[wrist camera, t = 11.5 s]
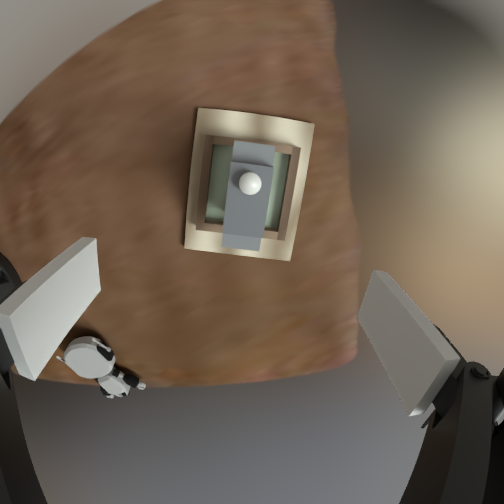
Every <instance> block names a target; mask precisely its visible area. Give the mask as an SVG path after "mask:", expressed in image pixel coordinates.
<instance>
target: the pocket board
mask: <svg viewBox="0 0 504 504" xmlns="http://www.w3.org/2000/svg"><path fill="white" fill-rule="evenodd" d="M314 125H315V124H312V123H307V122H302V121H297V120H291V119H285V118H280V117H273V116H267V115H260V114H253V113H245V112H237V111H228V110H218V109H207V108H198V114H197V121H196V129H195V137H194V145H193V153H192V162H191V172H190V182H189V193H188V204H187V217H186V231H185V247H184V248H185V249H193V250H202V251H210V252H218V253H226V254H235V255H243V256H251V257H259V258H268V259H276V260H285V261H290V258H291V253H292V249H293V244H294V238H295V233H296V228H297V223H298V218H299V213H300V207H301V202H302V196H303V191H304V185H305V180H306V174H307V168H308V162H309V156H310V150H311V144H312V138H313V132H314ZM234 141H243V142H250V143H258V144H265V145H271V146H276V147H275V154H274V160H273V167H274V171H273V178H272V184H271V191H270V197H269V203H268V210H267V216H266V222H265V228H264V235H263V238H261V243H260V250H259V251H251V250H243V249H235V248H227V247H221V245H222V236H223V233H222V231H223V222H224V214H225V205H226V197H227V189H228V181H229V173H230V165H231V161H232V155H233V147H234Z"/></svg>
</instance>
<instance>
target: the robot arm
mask: <svg viewBox="0 0 504 504" xmlns="http://www.w3.org/2000/svg"><path fill="white" fill-rule="evenodd" d="M100 290H101V288H100V279H99V269H98V258H97V243H96V238H88V237H82V238H81V239H79V240H78V241H77V242H75V243H74V244H73V245H71V246H70V247H69V248H67V249H66V250H65V251H63V252H62V253H61V254H60V255H58V256H57V257H56V258H54V259H53V260H52V261H51V262H49V263H48V264H47V265H46V266H44V267H43V268H42V269H41V270H40V271H38V272H37V273H36V274H35V275H34V276H32V277H31V278H30V279H29V280H27V281H25V282H23V283H21V280H20V278H19V276H18V274H17V272H16V271H15V269H14V268H13V266H12V265H11V263H10V262H9V261H8V260H7V259H6V258H5V257H4V256H3V255H2V254H0V504H47V501H46V499H45V496H44V494H43V491H42V489H41V487H40V484H39V481H38V478H37V476H36V473H35V470H34V467H33V464H32V461H31V458H30V454H29V451H28V448H27V444H26V440H25V436H24V433H23V429H22V424H21V420H20V415H19V411H18V405H17V400H16V394H15V388H14V381H13V375H12V372H11V370H10V368H11V366H12V365H13V364H14V363H15V365H16V368H17V370H18V372H19V374H20V375H22V376H24V377H26V378H29V379H31V380H34V381H35V380H36V378H37V377H38V375H39V374H40V372H41V371H42V369H43V368H44V366H45V365H46V363H47V362H48V360H49V359H50V357H51V356H52V355H53V353H54V352H55V350H56V349H57V347H58V346H59V345H60V343H61V342H62V340H63V339H64V338H65V336H66V335H67V333H68V332H69V331H70V329H71V328H72V327H73V325H74V324H75V323H76V321H77V320H78V319H79V317H80V316H81V315H82V313H83V312H84V311H85V309H86V308H87V307H88V306H89V304H90V303H91V302H92V300H93V299H94V298H95V297H96V295H97V294H98V293H99V292H100ZM357 319H358V321H359V323H360V325H361V326H362V328H363V330H364V332H365V333H366V335H367V337H368V339H369V341H370V342H371V344H372V346H373V348H374V350H375V352H376V353H377V355H378V357H379V359H380V361H381V363H382V365H383V367H384V369H385V370H386V372H387V374H388V376H389V378H390V380H391V382H392V384H393V386H394V388H395V390H396V392H397V394H398V396H399V397H400V400H401V402H402V404H403V406H404V408H405V410H406V412H407V414H408V416H413V415H418V414H423V413H424V412H425V411H426V410H427V408H428V407H429V406H430V404H431V403H433V404H434V406H435V410H434V411H433V412H432V414H431V415H430V416H429V417H428V419H427V420H426V421H425V423H424V424H423V425H422V427H421V428H424V427H425V426H426V425H427V424H428V427H427V431H426V434H425V437H424V441H423V444H422V447H421V450H420V453H419V456H418V459H417V462H416V464H415V467H414V470H413V472H412V475H411V477H410V480H409V482H408V485H407V487H406V489H405V492H404V494H403V496H402V498H401V501H400V503H399V504H504V420H503V421H502V423H501V424H500V425H498V423H497V420H498V419H499V418H500V416H501V415H502V414H503V413H504V368H503V370H502V372H501V373H500V375H499V376H491V374H490V372H489V371H488V370H487V369H486V368H485V367H484V366H483V365H481V364H479V363H477V362H468V363H467V362H466V360H465V359H464V358H463V357H462V355H461V354H460V353H459V352H458V350H457V349H456V348H455V347H454V346H453V344H452V343H450V341H449V339H448V338H446V336H445V335H444V333H443V332H442V331H441V330H440V329H439V328H438V327H437V326H435V325H434V324H433V323H432V322H431V321H430V320H429V319H428V318H427V317H426V315H425V314H424V313H423V312H422V311H421V310H420V309H419V308H418V306H417V305H416V304H415V303H414V302H413V301H412V300H411V299H410V297H409V296H408V295H407V294H406V293H405V292H404V291H403V290H402V289H401V287H400V286H399V285H398V284H397V283H396V282H395V281H394V280H393V279H392V278H391V277H390V276H389V274H388V273H386V272H385V271H376V270H373V271H372V274H371V278H370V281H369V284H368V287H367V290H366V293H365V296H364V299H363V302H362V305H361V308H360V310H359V313H358V316H357Z"/></svg>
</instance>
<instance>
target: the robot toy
mask: <svg viewBox="0 0 504 504" xmlns="http://www.w3.org/2000/svg"><path fill="white" fill-rule="evenodd" d="M56 357H57V358H58V359H60V360H61V361H63V362H65V363H66V364H67V365H68V366H69V367H70V368H71V369H72V370H74V371H75V372H76V373H77V374H78V375H79V376H82V377H84V378H95V380H96V381H97V382H98V383H99V384H100V385H101V386H100V388H101V391H102V393H103V395H105V396H107V397H108V398H110V397H111V398H113V397H114V395H117V396H120V397H122V396H127V395H129V392H130V391H129V389H130V386H131V387H133V388H136V386H137V387H138V388H139V389H144V388H145V387H146V384H145V383H144V382H139V378H137V377H135V376H133V375H131V374H124V373H123V372H122V371H120V370H119V369H117V368H115V367H114V363H115V356H114V353H113V351H112V350H111V348H109V347H108V346H107V345H106V344H105V343H104V342H102V341H101V340H100V339H98V338H95V337H91V336H85V337H79V338H76V339H74V340H73V341H72V342H71V343H70V344H69V345H68V347H67V349H66V350H65V352H64V359H65V361H64V360H63V359H61V358H60V357H59V356H56ZM113 394H114V395H113Z"/></svg>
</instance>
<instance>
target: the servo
mask: <svg viewBox="0 0 504 504" xmlns="http://www.w3.org/2000/svg"><path fill="white" fill-rule="evenodd" d="M275 147H276V146H271V145H265V144H258V143H250V142H243V141H234V147H233V155H232V161H231V165H230V173H229V181H228V189H227V197H226V205H225V214H224V222H223V231H222V233H223V236H222V245H221V247H227V248H235V249H243V250H251V251H259V250H260V243H261V238H263V235H264V228H265V222H266V216H267V210H268V203H269V197H270V191H271V184H272V178H273V171H274V167H273V160H274V154H275Z"/></svg>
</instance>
